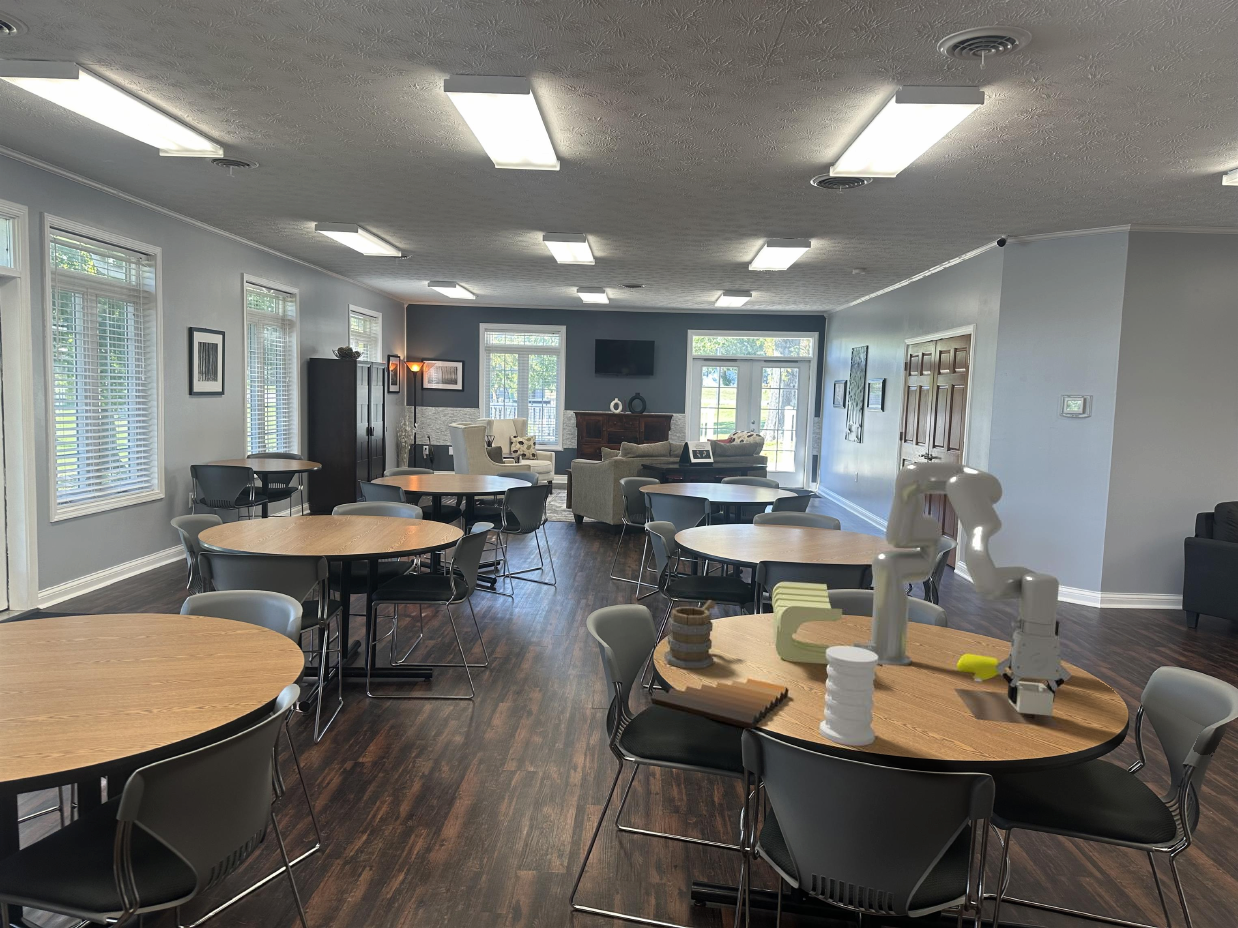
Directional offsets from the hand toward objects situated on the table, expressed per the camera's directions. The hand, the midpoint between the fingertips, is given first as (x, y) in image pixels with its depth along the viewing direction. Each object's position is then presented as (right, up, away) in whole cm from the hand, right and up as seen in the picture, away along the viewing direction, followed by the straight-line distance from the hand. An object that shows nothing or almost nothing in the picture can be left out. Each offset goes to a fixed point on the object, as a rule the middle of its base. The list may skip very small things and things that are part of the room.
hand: (1030, 702), depth 181 cm
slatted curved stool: (-42, 0, +45) cm, 62 cm away
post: (0, -3, 0) cm, 3 cm away
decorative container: (-46, -4, -11) cm, 47 cm away
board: (-3, -4, +6) cm, 8 cm away
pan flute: (-71, -2, +7) cm, 71 cm away
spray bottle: (+2, -3, +32) cm, 32 cm away
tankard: (-74, +1, +38) cm, 83 cm away
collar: (0, -1, 0) cm, 1 cm away
